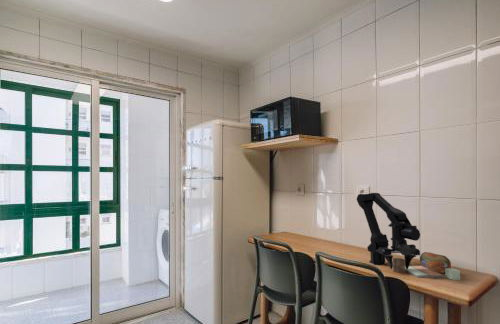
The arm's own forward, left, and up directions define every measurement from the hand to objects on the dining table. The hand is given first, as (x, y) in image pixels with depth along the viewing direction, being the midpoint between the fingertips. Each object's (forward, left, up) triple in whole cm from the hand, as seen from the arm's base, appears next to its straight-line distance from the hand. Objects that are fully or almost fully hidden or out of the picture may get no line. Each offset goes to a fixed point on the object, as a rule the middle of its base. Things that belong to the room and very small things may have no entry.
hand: (399, 268), depth 143 cm
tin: (+19, +1, -1) cm, 20 cm away
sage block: (+19, -11, -1) cm, 22 cm away
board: (+9, -1, -1) cm, 10 cm away
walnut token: (0, 0, -1) cm, 1 cm away
